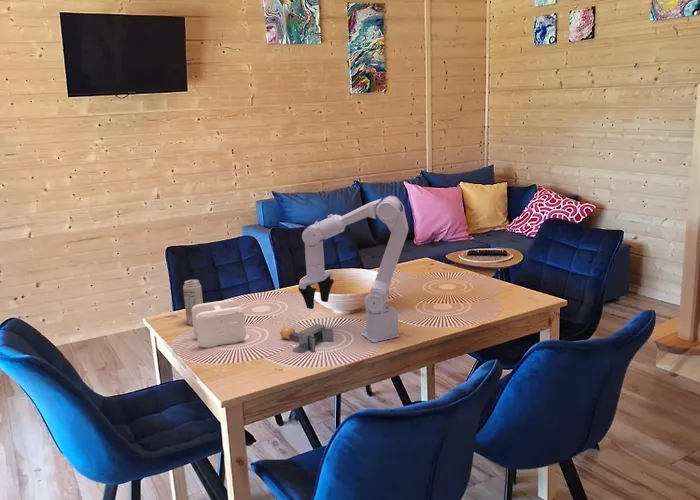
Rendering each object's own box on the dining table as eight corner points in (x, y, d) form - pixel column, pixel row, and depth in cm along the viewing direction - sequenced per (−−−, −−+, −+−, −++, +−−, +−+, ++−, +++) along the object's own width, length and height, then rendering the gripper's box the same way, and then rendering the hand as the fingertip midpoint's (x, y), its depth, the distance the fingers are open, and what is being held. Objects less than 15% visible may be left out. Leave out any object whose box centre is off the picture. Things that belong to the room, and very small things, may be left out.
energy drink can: (208, 322, 224) (204, 280, 221) (194, 327, 220) (189, 285, 216) (197, 319, 228) (193, 278, 225) (183, 324, 224) (178, 282, 220)
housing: (338, 338, 204) (337, 323, 203) (309, 355, 192) (308, 339, 191) (322, 335, 207) (321, 320, 206) (293, 351, 195) (291, 336, 194)
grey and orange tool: (318, 342, 202) (317, 331, 201) (311, 346, 199) (310, 335, 198) (285, 335, 209) (284, 324, 208) (278, 339, 206) (277, 328, 205)
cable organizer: (240, 331, 214) (237, 298, 211) (247, 342, 204) (244, 307, 202) (194, 339, 209) (190, 305, 206) (198, 350, 199) (195, 314, 197)
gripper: (318, 256, 211) (321, 296, 214) (290, 267, 199) (293, 309, 202) (336, 258, 207) (338, 299, 210) (308, 270, 195) (311, 313, 198)
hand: (317, 304), depth 206 cm, fingers open, 7 cm apart
